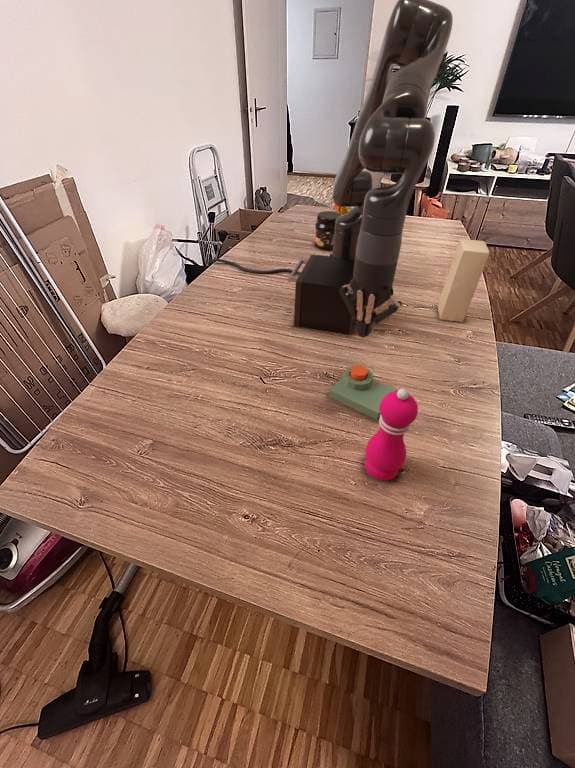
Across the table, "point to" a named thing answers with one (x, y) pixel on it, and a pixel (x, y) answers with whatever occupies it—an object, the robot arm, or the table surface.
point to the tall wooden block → (462, 279)
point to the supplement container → (325, 229)
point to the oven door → (299, 285)
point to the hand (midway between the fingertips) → (363, 334)
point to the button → (358, 373)
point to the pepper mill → (390, 435)
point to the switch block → (360, 393)
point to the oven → (326, 295)
